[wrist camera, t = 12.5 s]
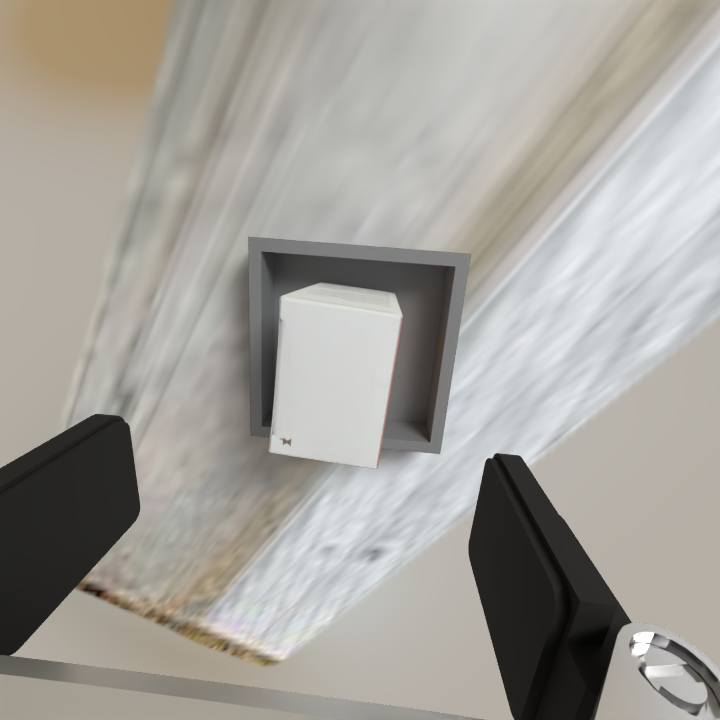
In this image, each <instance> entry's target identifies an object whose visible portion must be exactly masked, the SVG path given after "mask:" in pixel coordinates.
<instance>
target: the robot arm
mask: <svg viewBox="0 0 720 720" xmlns="http://www.w3.org/2000/svg"><path fill="white" fill-rule="evenodd" d="M139 512H140V501H139V493H138V486H137V478H136V471H135V464H134V456H133V449H132V441H131V434H130V428H129V425H128V424H127V423H126V422H125V421H124V420H123V418H122V417H120V416H114V415H103V414H95V415H92V416H90V417H89V418H87V419H85V420H83V421H82V422H80V423H78V424H77V425H75V426H73V427H71V428H70V429H68V430H66V431H64V432H63V433H61V434H59V435H57V436H56V437H54V438H52V439H50V440H49V441H47V442H45V443H43V444H42V445H40V446H38V447H37V448H35V449H33V450H31V451H30V452H28V453H26V454H24V455H23V456H21V457H19V458H18V459H16V460H14V461H12V462H10V463H9V464H7V465H6V466H3V467H2V468H0V720H483V719H477V718H470V717H464V716H458V715H451V714H445V713H438V712H432V711H425V710H419V709H413V708H406V707H398V706H391V705H383V704H376V703H369V702H361V701H354V700H347V699H339V698H332V697H324V696H316V695H310V694H302V693H295V692H287V691H280V690H273V689H265V688H257V687H249V686H242V685H235V684H227V683H219V682H211V681H204V680H196V679H188V678H181V677H173V676H165V675H157V674H150V673H142V672H134V671H126V670H118V669H110V668H102V667H95V666H87V665H78V664H71V663H63V662H54V661H46V660H38V659H30V658H21V657H13V656H10V655H12V654H13V653H15V652H16V651H17V650H18V649H19V648H20V647H21V646H22V645H23V644H24V643H25V642H26V641H27V640H28V639H29V637H30V636H31V635H32V634H33V633H34V632H35V631H36V630H37V629H38V627H40V625H41V624H42V623H43V622H44V621H45V620H46V619H47V618H48V617H49V616H50V614H51V613H52V612H53V611H54V610H55V609H56V608H57V607H58V606H59V605H60V603H61V602H62V601H63V600H64V599H65V598H66V597H67V596H68V595H69V593H70V592H71V591H72V590H73V589H74V588H75V587H76V586H77V585H78V584H79V583H80V582H81V580H82V579H83V578H84V577H85V576H86V575H87V574H88V573H89V572H90V571H91V569H92V568H93V567H94V566H95V565H96V564H97V563H98V562H99V561H100V560H101V558H102V557H103V556H104V555H105V554H106V553H107V552H108V551H109V550H110V549H111V547H112V546H113V545H114V544H115V543H116V542H117V541H118V540H119V539H120V538H121V536H122V535H123V534H124V533H125V532H126V531H127V530H128V529H129V528H130V527H131V525H132V524H133V523H134V522H135V521H136V519H137V517H138V515H139ZM469 558H470V562H471V566H472V570H473V574H474V577H475V581H476V585H477V588H478V592H479V596H480V599H481V603H482V607H483V610H484V614H485V617H486V621H487V625H488V629H489V632H490V636H491V640H492V643H493V647H494V651H495V655H496V658H497V662H498V666H499V669H500V673H501V677H502V680H503V684H504V688H505V691H506V695H507V699H508V702H509V706H510V710H511V713H512V716H513V718H514V720H720V669H719V668H718V667H717V666H716V665H715V664H714V663H713V662H712V661H711V660H710V659H709V658H707V657H706V656H705V655H704V654H703V653H702V652H700V650H698V649H697V648H695V647H694V646H692V645H691V644H690V643H688V642H687V641H685V640H684V639H682V638H681V637H679V636H677V635H675V634H673V633H671V632H669V631H667V630H665V629H663V628H661V627H657V626H654V625H650V624H647V623H632V622H631V621H630V619H629V617H628V616H627V615H626V613H625V611H624V610H623V608H622V607H621V605H620V604H619V602H618V601H617V599H616V598H615V596H614V595H613V593H612V592H611V590H610V589H609V587H608V586H607V584H606V583H605V581H604V580H603V578H602V577H601V575H600V573H599V572H598V570H597V569H596V567H595V566H594V564H593V563H592V561H591V560H590V558H589V557H588V555H587V554H586V552H585V551H584V549H583V548H582V546H581V545H580V543H579V541H578V540H577V539H576V537H575V535H574V534H573V532H572V531H571V529H570V528H569V526H568V525H567V523H566V522H565V520H564V519H563V518H562V517H561V516H560V515H559V514H558V513H557V511H556V510H555V508H554V507H553V505H552V504H551V502H550V500H549V499H548V497H547V496H546V494H545V493H544V491H543V490H542V488H541V487H540V485H539V484H538V482H537V481H536V479H535V478H534V476H533V474H532V473H531V471H530V470H529V468H528V467H527V465H526V463H525V462H524V460H523V459H522V458H521V457H520V456H518V455H509V454H499V453H496V454H495V455H494V457H493V459H490V458H488V459H487V460H486V462H485V467H484V471H483V476H482V481H481V486H480V491H479V496H478V501H477V505H476V510H475V515H474V520H473V525H472V530H471V535H470V539H469Z"/></svg>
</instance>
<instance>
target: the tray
mask: <svg viewBox="0 0 720 720" xmlns="http://www.w3.org/2000/svg"><path fill="white" fill-rule="evenodd" d="M248 249H249V332H250V416H251V435H252V436H262V437H270V434H271V426H272V416H273V404H274V392H275V378H276V363H277V349H278V333H279V299H280V297H281V296H282V295H285V294H288V293H291V292H294V291H297V290H300V289H303V288H306V287H308V286H311V285H315V284H318V283H320V282H324V283H331V284H339V285H346V286H353V287H360V288H366V289H373V290H380V291H386V292H392V293H395V295H396V298H397V301H398V304H399V306H400V309H401V312H402V314H403V319H402V325H401V331H400V337H399V343H398V350H397V356H396V362H395V368H394V375H393V381H392V387H391V393H390V398H389V404H388V410H387V416H386V422H385V428H384V434H383V440H382V446H381V448H384V449H394V450H404V451H414V452H424V453H434V454H440V451H441V445H442V438H443V432H444V425H445V419H446V413H447V406H448V400H449V393H450V387H451V380H452V374H453V367H454V361H455V354H456V348H457V341H458V335H459V328H460V322H461V315H462V309H463V303H464V296H465V290H466V283H467V277H468V270H469V264H470V257H471V254H466V253H452V252H439V251H426V250H413V249H400V248H387V247H374V246H361V245H348V244H335V243H322V242H309V241H296V240H283V239H270V238H257V237H248Z"/></svg>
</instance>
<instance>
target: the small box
mask: <svg viewBox="0 0 720 720" xmlns="http://www.w3.org/2000/svg"><path fill="white" fill-rule="evenodd" d="M402 319H403V314H402V312H401V309H400V306H399V304H398V301H397V298H396V295H395V293H392V292H386V291H380V290H373V289H366V288H360V287H353V286H346V285H339V284H331V283H324V282H320V283H318V284H315V285H311V286H308V287H306V288H303V289H300V290H297V291H294V292H291V293H288V294H285V295H282V296H281V297H280V299H279V333H278V349H277V363H276V378H275V392H274V404H273V416H272V426H271V434H270V441H269V448H268V451H269V452H270V453H276V454H282V455H288V456H294V457H300V458H307V459H313V460H319V461H326V462H332V463H339V464H345V465H351V466H358V467H366V468H372V469H377V468H378V463H379V458H380V452H381V446H382V440H383V434H384V428H385V422H386V416H387V410H388V404H389V398H390V393H391V387H392V381H393V375H394V368H395V362H396V356H397V350H398V343H399V337H400V331H401V325H402Z"/></svg>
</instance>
